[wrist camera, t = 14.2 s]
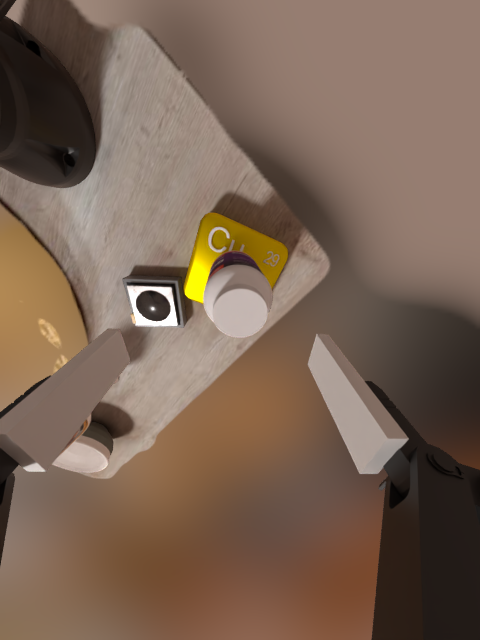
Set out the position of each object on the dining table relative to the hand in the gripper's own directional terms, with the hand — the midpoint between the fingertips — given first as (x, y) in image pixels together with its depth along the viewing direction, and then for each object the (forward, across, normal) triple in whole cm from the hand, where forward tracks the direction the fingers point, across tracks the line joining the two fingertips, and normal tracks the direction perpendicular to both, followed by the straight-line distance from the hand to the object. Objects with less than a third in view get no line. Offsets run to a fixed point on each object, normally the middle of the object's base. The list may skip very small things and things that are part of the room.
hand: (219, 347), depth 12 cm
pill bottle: (+20, +1, 0) cm, 20 cm away
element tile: (+25, 0, 0) cm, 25 cm away
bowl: (+25, -45, -54) cm, 75 cm away
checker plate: (+23, -15, -7) cm, 29 cm away
